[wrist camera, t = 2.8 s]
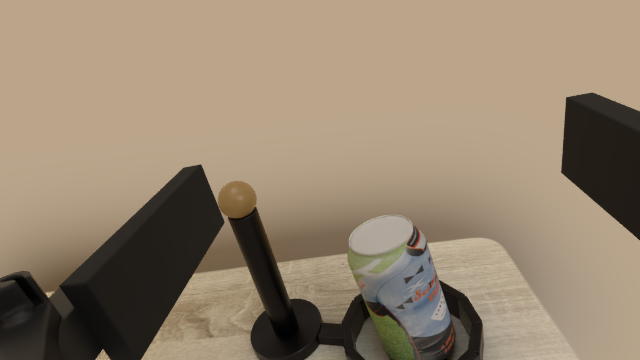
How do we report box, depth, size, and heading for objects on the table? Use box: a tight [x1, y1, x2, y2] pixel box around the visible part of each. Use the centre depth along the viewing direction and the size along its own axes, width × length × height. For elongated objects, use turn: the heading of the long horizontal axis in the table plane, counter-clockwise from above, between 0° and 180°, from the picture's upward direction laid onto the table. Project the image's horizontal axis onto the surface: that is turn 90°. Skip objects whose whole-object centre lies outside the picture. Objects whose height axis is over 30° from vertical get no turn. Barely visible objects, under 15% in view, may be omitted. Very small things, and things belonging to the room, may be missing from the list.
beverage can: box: [348, 215, 456, 360], centre depth 28 cm, size 6×7×12 cm
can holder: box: [218, 181, 484, 360], centre depth 28 cm, size 13×20×17 cm, turn 94°
